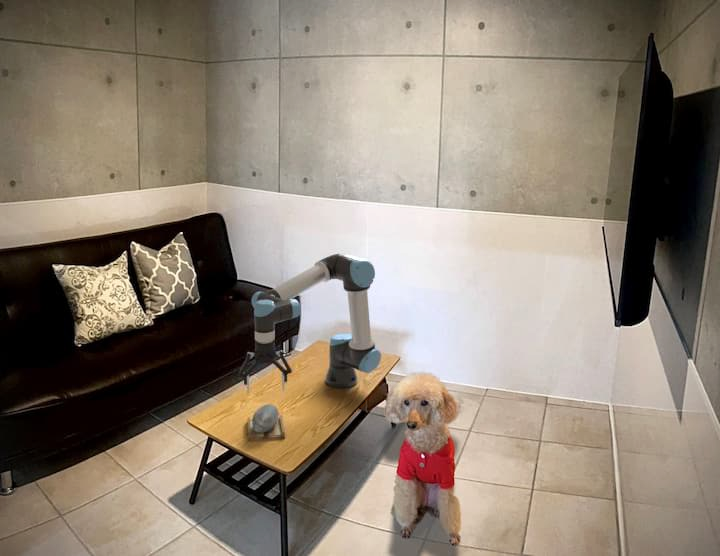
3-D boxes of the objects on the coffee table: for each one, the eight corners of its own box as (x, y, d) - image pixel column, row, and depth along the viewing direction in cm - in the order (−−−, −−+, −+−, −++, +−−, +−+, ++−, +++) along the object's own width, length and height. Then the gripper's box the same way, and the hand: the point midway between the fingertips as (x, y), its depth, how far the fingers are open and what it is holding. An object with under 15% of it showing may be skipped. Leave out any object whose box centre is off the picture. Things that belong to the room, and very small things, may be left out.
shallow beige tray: (281, 419, 253) (281, 414, 252) (284, 438, 239) (284, 432, 238) (247, 422, 250) (247, 416, 249) (248, 441, 236) (248, 435, 235)
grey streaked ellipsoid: (259, 408, 252) (267, 394, 246) (279, 421, 251) (287, 406, 246) (243, 430, 241) (250, 415, 235) (263, 443, 240) (271, 429, 234)
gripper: (296, 334, 240) (296, 384, 246) (231, 338, 235) (233, 388, 241) (298, 341, 233) (298, 392, 239) (231, 345, 228) (233, 397, 234)
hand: (265, 390), depth 240 cm, fingers open, 13 cm apart
